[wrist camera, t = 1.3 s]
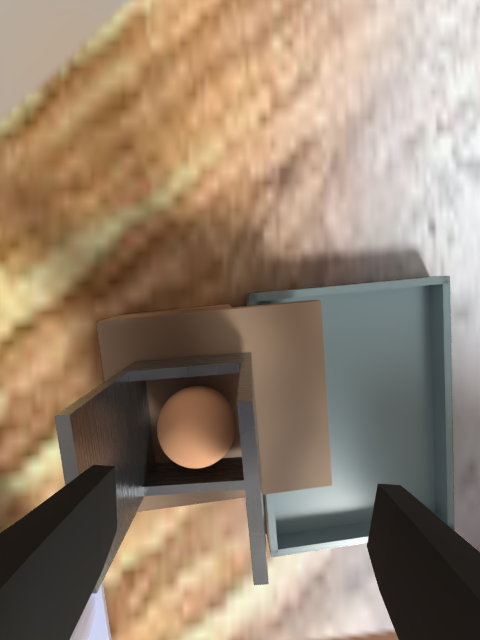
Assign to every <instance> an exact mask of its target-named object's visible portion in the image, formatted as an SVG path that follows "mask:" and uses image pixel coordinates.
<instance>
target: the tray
mask: <svg viewBox="0 0 480 640" xmlns="http://www.w3.org/2000/svg"><path fill="white" fill-rule="evenodd" d="M246 300H247V306H254V305H264V304H275V303H285V302H296V301H306V300H319V301H321V310H322V327H323V343H324V359H325V375H326V392H327V408H328V424H329V440H330V456H331V473H332V486H325V487H317V488H310V489H302V490H295V491H288V492H280V493H273V494H266V495H263V496H264V507H265V519H266V531H267V538H268V543H269V548H270V552H271V557H276V556H283V555H290V554H296V553H303V552H310V551H317V550H323V549H330V548H337V547H343V546H350V545H357V544H363V543H368V537H369V531H370V525H371V520H372V514H373V508H374V502H375V496H376V491H377V485H378V484H392V485H401V486H402V487H403V488H405V489H406V490H407V491H408V492H410V493H411V494H412V495H413V496H414V497H416V498H417V499H418V500H419V501H420V502H421V503H423V504H424V505H425V506H426V507H427V508H428V509H430V510H431V511H432V512H433V513H434V514H435V515H436V516H438V517H439V518H440V519H441V520H442V521H443V522H445V523H446V524H447V525H448V526H449V527H450V528H451V529H453V530H454V484H453V429H452V373H451V318H450V276H435V277H422V278H411V279H400V280H389V281H378V282H367V283H356V284H345V285H334V286H324V287H313V288H302V289H291V290H280V291H269V292H258V293H247V294H246Z"/></svg>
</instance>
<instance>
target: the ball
mask: <svg viewBox="0 0 480 640" xmlns="http://www.w3.org/2000/svg"><path fill="white" fill-rule="evenodd" d="M235 434H236V417H235V413H234V410H233V408H232V406H231V404H230V403H229V401H228V400H227V399H226V398H225V397H224V396H223V395H222V394H221V393H220V392H218V391H216V390H214V389H212V388H209V387H205V386H191V387H187V388H184V389H182V390H180V391H178V392H176V393H175V394H174V395H172V396H171V397H170V398H169V399H168V400H167V402H166V403H165V404H164V406H163V408H162V410H161V412H160V414H159V418H158V422H157V435H158V440H159V443H160V445H161V447H162V449H163V451H164V453H165V454H166V455H167V456H168V457H169V458H170V459H171V460H172V461H173V462H175V463H177V464H178V465H181V466H183V467H187V468H204V467H207V466H210V465H212V464H214V463H216V462H217V461H219V460H220V459H221V458H222V457H223V456H224V455H225V454H226V453H227V452H228V450H229V449H230V447H231V445H232V443H233V441H234V438H235Z"/></svg>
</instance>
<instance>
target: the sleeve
mask: <svg viewBox="0 0 480 640" xmlns="http://www.w3.org/2000/svg"><path fill="white" fill-rule="evenodd" d="M232 373H240V377H239V387H238V396H237V409H238V420H239V431H240V441H241V452H242V457H232V458H221V459H220V460H219V461H217V462H216V463H214V464H212V465H210V466H207V467H204V468H187V467H183V466H181V465H178V464H177V463H175V462H160V463H156V460H155V452H154V444H153V436H152V428H151V420H150V412H149V404H148V396H147V388H146V380H156V379H169V378H181V377H194V376H207V375H219V374H232ZM55 422H56V428H57V435H58V441H59V448H60V454H61V460H62V467H63V473H64V479H65V486H66V485H67V484H68V483H70V482H71V481H72V480H73V479H75V478H76V477H77V476H79V475H80V474H81V473H83V472H84V471H85V470H87V469H88V468H90V467H91V466H92V465H105V466H115V467H116V503H117V531H116V534H115V537H114V540H113V543H112V546H111V548H110V551H109V554H108V557H107V559H106V562H105V565H104V568H103V570H102V573H101V575H100V577H99V579H98V581H97V583H96V586H95V588H94V590H93V592H92V594H95V593H97V592H98V590H99V588H100V585H101V583H102V581H103V579H104V577H105V575H106V573H107V571H108V569H109V567H110V565H111V563H112V561H113V559H114V557H115V555H116V553H117V551H118V549H119V547H120V545H121V543H122V541H123V539H124V537H125V535H126V533H127V531H128V529H129V527H130V524H131V522H132V520H133V518H134V516H135V514H136V512H137V510H138V508H139V506H140V504H141V502H142V500H143V498H144V496H156V495H171V494H186V493H202V492H217V491H232V490H245V495H246V506H247V516H248V527H249V538H250V549H251V559H252V570H253V581H254V585H261V584H268V569H267V553H266V537H265V521H264V505H263V489H262V473H261V459H260V447H259V436H258V424H257V413H256V401H255V390H254V378H253V367H252V355H251V352H243V353H231V354H219V355H207V356H194V357H182V358H170V359H157V360H145V361H134V362H133V363H131V364H130V365H128V366H127V367H125V368H124V369H122V370H121V371H119V372H118V373H117V374H115V375H114V376H112V377H111V378H109V379H108V380H106V381H105V382H103V383H102V384H100V385H99V386H98V387H96V388H95V389H93V390H92V391H90V392H89V393H87V394H86V395H84V396H83V397H82V398H80V399H79V400H77V401H76V402H74V403H73V404H71V405H70V406H68V407H67V408H65V409H64V410H63V411H61V412H60V413H58V414H57V415H55Z"/></svg>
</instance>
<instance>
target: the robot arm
mask: <svg viewBox="0 0 480 640" xmlns="http://www.w3.org/2000/svg"><path fill="white" fill-rule="evenodd" d="M116 531H117V503H116V467H115V466H105V465H92V466H91V467H90V468H88V469H87V470H85V471H84V472H83V473H81V474H80V475H79V476H77V477H76V478H75V479H73V480H72V481H71V482H70V483H68V484H67V485H66V486H64V487H63V488H62V489H60V490H59V491H58V492H56V493H55V494H54V495H53V496H51V497H50V498H48V499H47V500H46V501H44V502H43V503H42V504H40V505H39V506H38V507H36V508H35V509H34V510H32V511H31V512H30V513H28V514H27V515H26V516H24V517H23V518H22V519H20V520H19V521H17V522H16V523H15V524H13V525H12V526H10V527H9V528H7V529H6V530H4V531H3V532H1V533H0V640H111V633H110V626H109V620H108V613H107V606H106V600H105V593H104V586H103V581H102V583H101V585H100V588H99V590H98V592H97V593H95V594H92V592H93V590H94V588H95V586H96V583H97V581H98V579H99V577H100V575H101V573H102V570H103V568H104V565H105V562H106V559H107V557H108V554H109V551H110V548H111V546H112V543H113V540H114V537H115V534H116ZM367 548H368V552H369V555H370V559H371V563H372V566H373V570H374V573H375V577H376V580H377V584H378V587H379V590H380V593H381V596H382V598H383V601H384V603H385V606H386V608H387V611H388V613H389V616H390V619H391V621H392V624H393V626H394V629H395V631H396V634H397V636H398V639H399V640H480V552H479V551H477V550H476V549H475V548H474V547H473V546H471V545H470V544H469V543H468V542H467V541H465V540H464V539H463V538H462V537H461V536H460V535H458V534H457V533H456V532H455V531H454V530H453V529H451V528H450V527H449V526H448V525H447V524H446V523H445V522H443V521H442V520H441V519H440V518H439V517H438V516H436V515H435V514H434V513H433V512H432V511H431V510H430V509H428V508H427V507H426V506H425V505H424V504H423V503H421V502H420V501H419V500H418V499H417V498H416V497H414V496H413V495H412V494H411V493H410V492H408V491H407V490H406V489H405V488H403V487H402V486H401V485H392V484H378V485H377V491H376V496H375V502H374V508H373V514H372V520H371V525H370V531H369V537H368V543H367Z"/></svg>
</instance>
